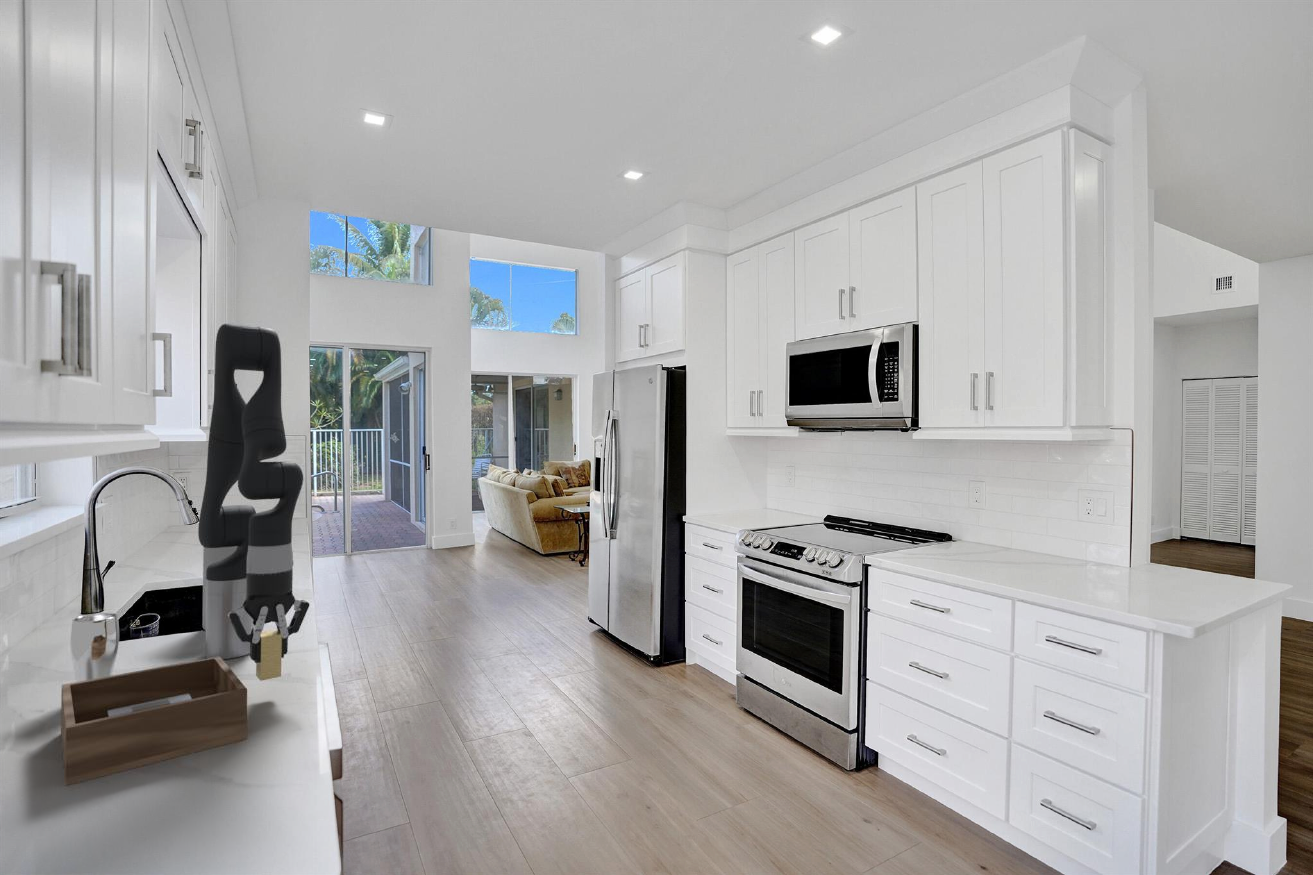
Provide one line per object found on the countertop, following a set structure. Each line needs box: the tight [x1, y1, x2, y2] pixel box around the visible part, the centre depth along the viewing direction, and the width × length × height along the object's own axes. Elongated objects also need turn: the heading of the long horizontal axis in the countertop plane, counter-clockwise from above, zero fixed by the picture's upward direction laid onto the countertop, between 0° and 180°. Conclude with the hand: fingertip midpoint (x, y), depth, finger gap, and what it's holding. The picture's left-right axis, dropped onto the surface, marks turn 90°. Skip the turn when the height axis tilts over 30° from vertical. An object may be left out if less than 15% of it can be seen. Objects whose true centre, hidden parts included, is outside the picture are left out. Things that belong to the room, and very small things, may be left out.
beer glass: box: [69, 612, 120, 682], centre depth 125 cm, size 7×7×15 cm
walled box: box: [60, 656, 248, 786], centre depth 109 cm, size 22×22×8 cm
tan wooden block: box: [255, 629, 282, 681], centre depth 126 cm, size 3×3×8 cm
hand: (268, 658), depth 126 cm, fingers closed on tan wooden block, 3 cm apart
